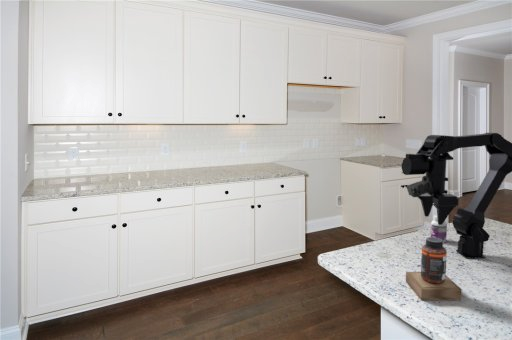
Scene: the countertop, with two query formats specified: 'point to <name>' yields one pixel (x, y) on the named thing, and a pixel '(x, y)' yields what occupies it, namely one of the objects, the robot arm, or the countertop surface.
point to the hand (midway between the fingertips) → (433, 220)
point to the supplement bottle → (433, 261)
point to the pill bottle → (438, 229)
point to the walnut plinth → (433, 288)
